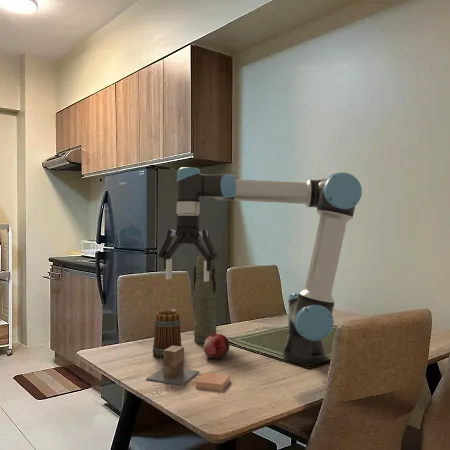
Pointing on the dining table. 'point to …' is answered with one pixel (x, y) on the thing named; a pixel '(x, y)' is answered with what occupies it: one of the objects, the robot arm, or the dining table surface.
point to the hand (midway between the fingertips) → (187, 280)
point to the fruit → (216, 345)
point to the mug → (166, 332)
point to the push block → (173, 362)
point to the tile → (212, 381)
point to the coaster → (178, 381)
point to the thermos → (205, 300)
